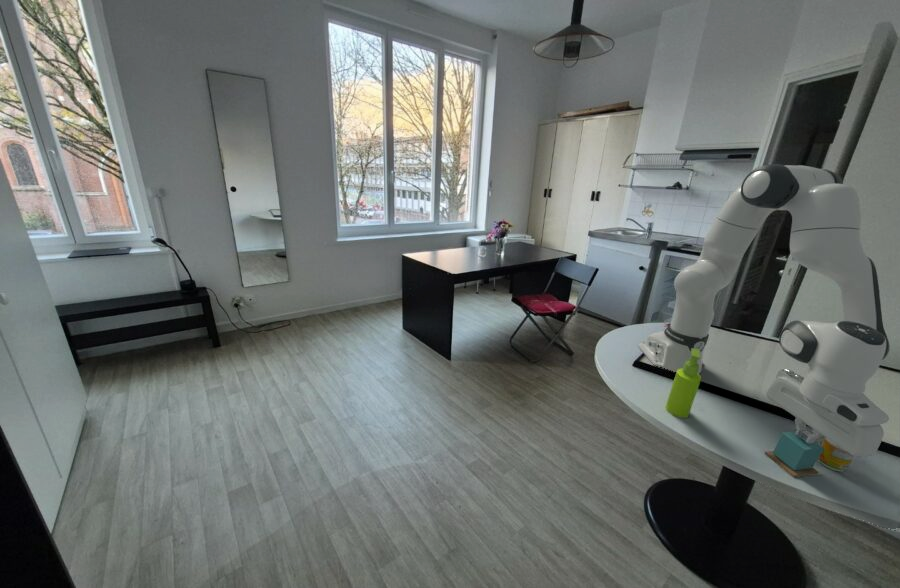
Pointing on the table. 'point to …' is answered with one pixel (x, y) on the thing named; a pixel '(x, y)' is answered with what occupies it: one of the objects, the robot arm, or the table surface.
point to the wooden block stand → (789, 470)
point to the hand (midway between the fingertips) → (803, 438)
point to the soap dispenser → (684, 387)
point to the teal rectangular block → (797, 451)
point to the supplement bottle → (834, 456)
